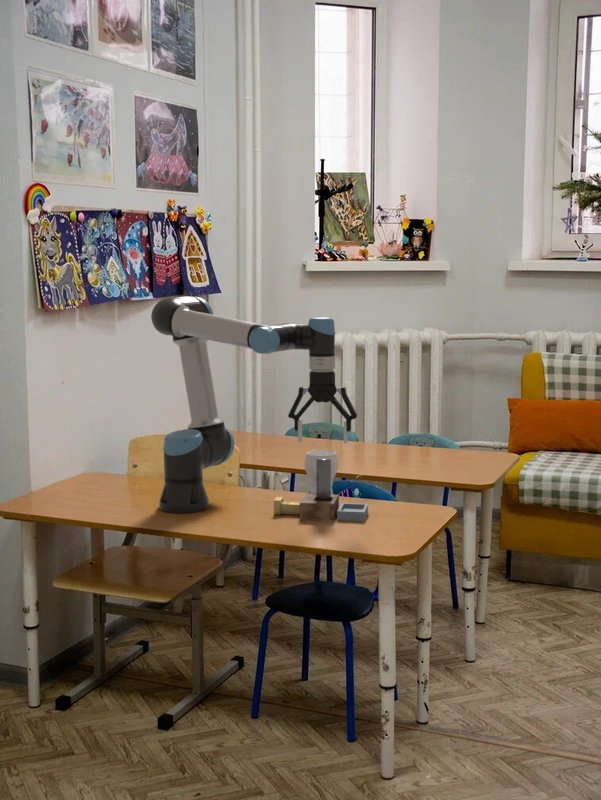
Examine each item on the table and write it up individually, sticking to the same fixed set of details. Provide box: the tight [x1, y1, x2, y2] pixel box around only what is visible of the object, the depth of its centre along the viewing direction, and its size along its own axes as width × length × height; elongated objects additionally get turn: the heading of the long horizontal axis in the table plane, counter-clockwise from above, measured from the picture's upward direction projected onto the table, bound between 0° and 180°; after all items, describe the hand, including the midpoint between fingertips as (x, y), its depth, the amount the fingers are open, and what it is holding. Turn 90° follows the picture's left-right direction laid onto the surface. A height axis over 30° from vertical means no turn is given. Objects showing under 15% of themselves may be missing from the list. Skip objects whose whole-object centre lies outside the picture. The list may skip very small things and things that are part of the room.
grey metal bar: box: [316, 458, 331, 501], centre depth 298 cm, size 4×4×17 cm
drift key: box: [273, 496, 300, 516], centre depth 300 cm, size 12×5×4 cm, turn 80°
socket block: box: [299, 492, 340, 522], centre depth 299 cm, size 10×12×5 cm
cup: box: [304, 449, 339, 494], centre depth 318 cm, size 11×11×15 cm
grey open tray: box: [336, 502, 369, 522], centre depth 297 cm, size 8×10×3 cm
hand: (322, 442), depth 296 cm, fingers open, 13 cm apart
